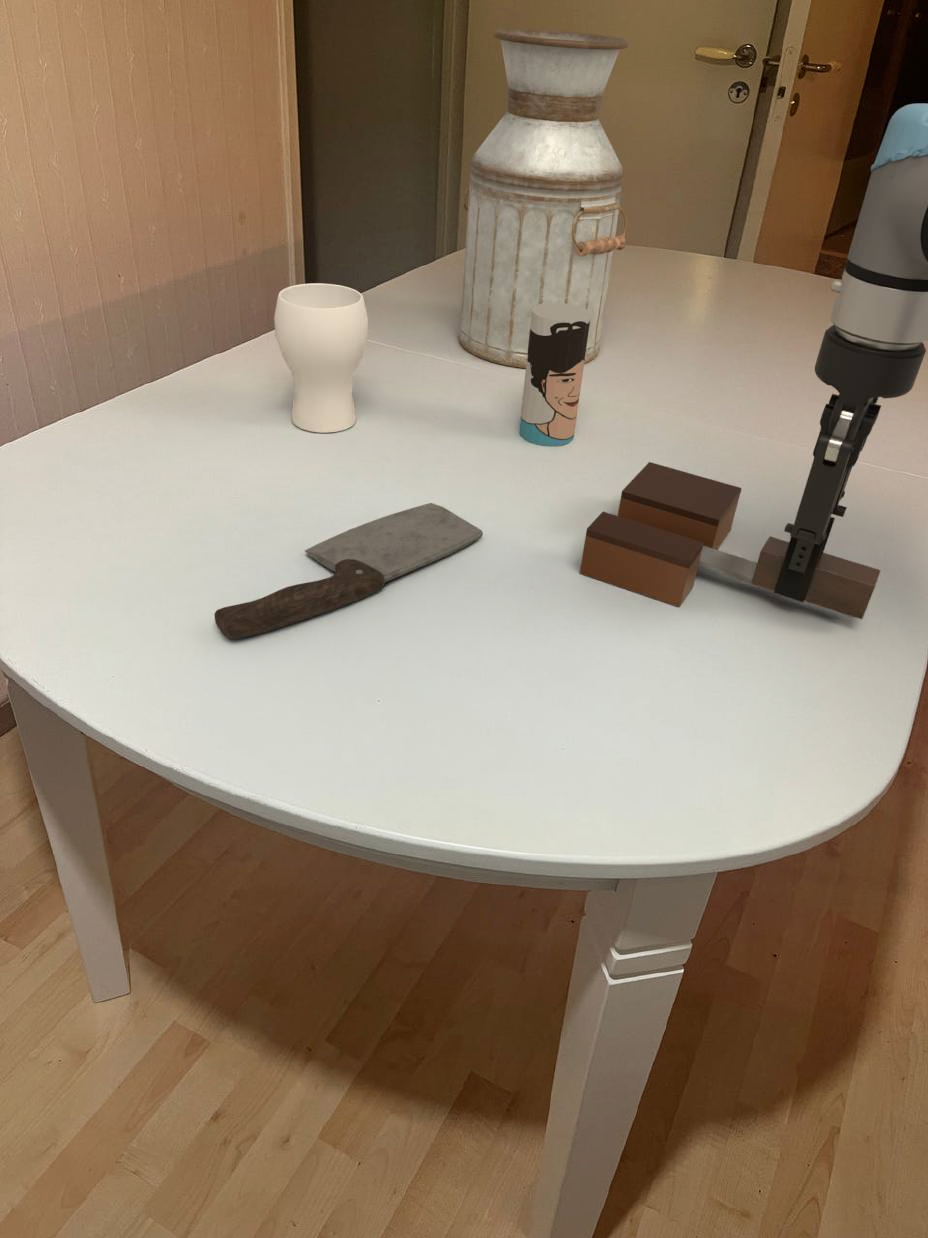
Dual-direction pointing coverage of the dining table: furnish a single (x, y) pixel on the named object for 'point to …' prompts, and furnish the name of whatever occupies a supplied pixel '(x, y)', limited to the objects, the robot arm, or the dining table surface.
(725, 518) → the cake
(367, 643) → the dining table surface
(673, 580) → the cake slice
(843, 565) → the knife
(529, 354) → the cup
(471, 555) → the dining table surface
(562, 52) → the milk can
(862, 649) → the dining table surface
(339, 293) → the cup
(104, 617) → the dining table surface
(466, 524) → the cleaver
